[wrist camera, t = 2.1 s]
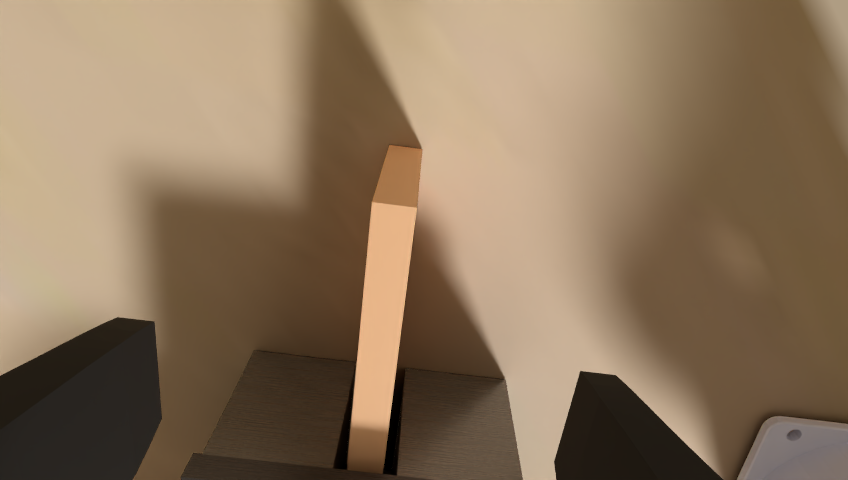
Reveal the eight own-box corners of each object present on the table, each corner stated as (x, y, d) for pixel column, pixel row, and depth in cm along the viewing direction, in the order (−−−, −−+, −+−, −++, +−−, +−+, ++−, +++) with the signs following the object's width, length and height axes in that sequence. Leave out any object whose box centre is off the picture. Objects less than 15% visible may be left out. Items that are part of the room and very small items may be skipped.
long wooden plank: (422, 149, 17) (416, 207, 13) (383, 451, 22) (369, 573, 18) (389, 145, 17) (371, 202, 13) (358, 449, 22) (337, 569, 18)
